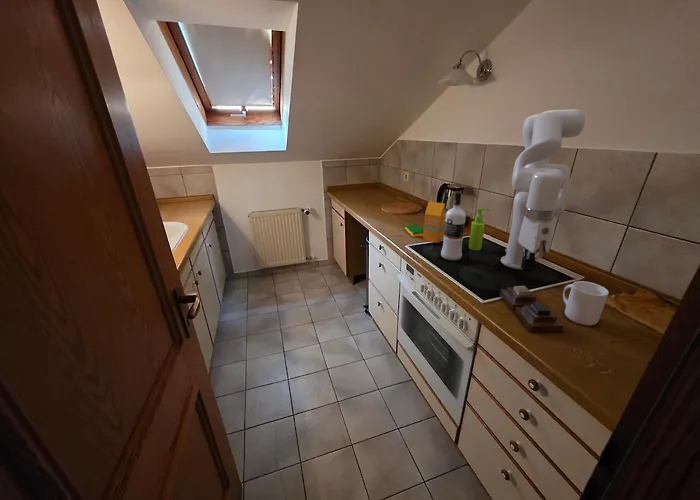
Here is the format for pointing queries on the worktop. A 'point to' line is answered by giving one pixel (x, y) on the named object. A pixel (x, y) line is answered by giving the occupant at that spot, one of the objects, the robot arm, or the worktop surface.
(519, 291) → the key ivory
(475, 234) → the soap dispenser
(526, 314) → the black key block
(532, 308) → the key black
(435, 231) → the orange juice
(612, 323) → the worktop surface
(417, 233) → the dish sponge
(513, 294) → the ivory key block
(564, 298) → the mug
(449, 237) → the vodka
